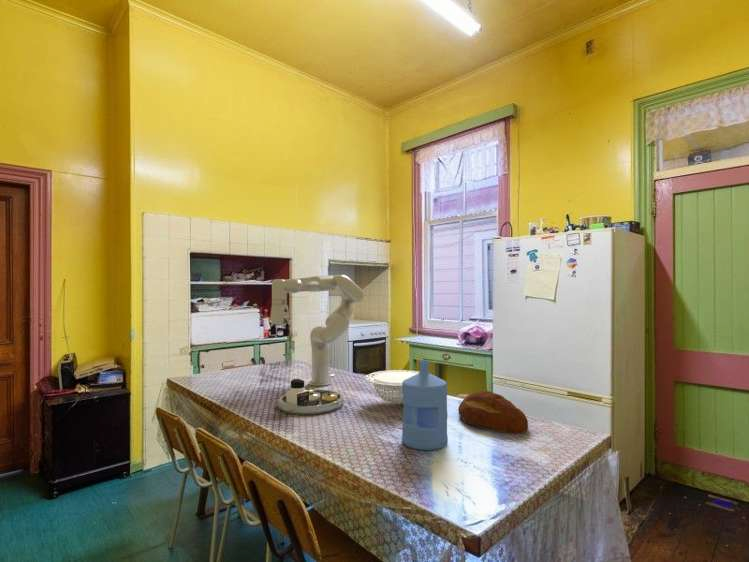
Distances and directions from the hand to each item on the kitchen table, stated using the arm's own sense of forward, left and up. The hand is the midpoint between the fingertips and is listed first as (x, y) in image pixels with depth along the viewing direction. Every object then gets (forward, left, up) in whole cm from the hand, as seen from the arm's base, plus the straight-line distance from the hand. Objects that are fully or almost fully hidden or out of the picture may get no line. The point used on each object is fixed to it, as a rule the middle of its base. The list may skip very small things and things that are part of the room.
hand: (279, 335), depth 218 cm
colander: (-14, +66, -28) cm, 73 cm away
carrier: (+10, +34, -28) cm, 45 cm away
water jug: (+18, +98, -28) cm, 104 cm away
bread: (-15, +109, -29) cm, 113 cm away
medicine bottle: (+18, +34, -27) cm, 47 cm away
